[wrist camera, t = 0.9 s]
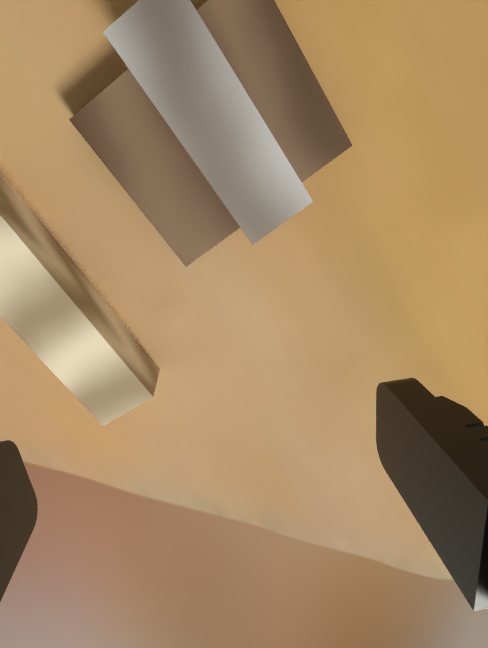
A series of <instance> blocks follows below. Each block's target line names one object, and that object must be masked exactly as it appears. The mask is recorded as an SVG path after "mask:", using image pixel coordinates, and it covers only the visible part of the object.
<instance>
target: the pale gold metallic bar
mask: <svg viewBox="0 0 488 648" xmlns="http://www.w3.org/2000/svg"><path fill="white" fill-rule="evenodd" d="M0 316H1V318H2V319H3V320H4V321H5V322H6V323H7V324H8V325H9V326H10V327H11V328H12V329H13V330H14V331H15V333H16V334H17V335H18V336H19V337H20V338H21V339H22V340H23V341H24V342H25V343H26V344H27V345H28V346H29V347H30V349H31V350H32V351H33V352H34V353H35V354H36V355H37V356H38V357H39V358H40V359H41V360H42V361H43V362H44V363H45V365H46V366H47V367H48V368H49V369H50V370H51V371H52V372H53V373H54V374H55V375H56V376H57V377H58V378H59V379H60V381H61V382H62V383H63V384H64V385H65V386H66V387H67V388H68V389H69V390H70V391H71V392H72V393H73V394H74V395H75V397H76V398H77V399H78V400H79V401H80V402H81V403H82V404H83V405H84V406H85V407H86V408H87V409H88V410H89V411H90V413H91V414H92V415H93V416H94V417H95V418H96V419H97V420H98V421H99V422H100V423H101V424H102V425H103V426H104V425H106V424H107V423H109V422H111V421H113V420H114V419H116V418H118V417H119V416H121V415H123V414H125V413H126V412H128V411H130V410H132V409H133V408H135V407H137V406H138V405H140V404H142V403H144V402H145V401H147V400H149V399H151V398H152V397H153V395H154V391H155V387H156V383H157V378H158V374H159V370H160V369H159V367H158V366H157V365H156V364H155V362H154V361H153V360H152V359H151V358H150V356H149V355H148V354H147V353H146V351H145V350H144V349H143V348H142V346H141V345H140V344H139V343H138V341H137V340H136V339H135V338H134V336H133V335H132V334H131V333H130V331H129V330H128V329H127V328H126V326H125V325H124V324H123V323H122V321H121V320H120V319H119V318H118V316H117V315H116V314H115V313H114V311H113V310H112V309H111V308H110V307H109V305H108V304H107V303H106V302H105V300H104V299H103V298H102V297H101V295H100V294H99V293H98V292H97V290H96V289H95V288H94V287H93V285H92V284H91V283H90V282H89V280H88V279H87V278H86V277H85V275H84V274H83V273H82V272H81V270H80V269H79V268H78V267H77V265H76V264H75V263H74V262H73V260H72V259H71V258H70V257H69V256H68V254H67V253H66V252H65V251H64V249H63V248H62V247H61V246H60V244H59V243H58V242H57V241H56V239H55V238H54V237H53V236H52V234H51V233H50V232H49V231H48V229H47V228H46V227H45V226H44V224H43V223H42V222H41V221H40V219H39V218H38V217H37V216H36V214H35V213H34V212H33V211H32V209H31V208H30V207H29V206H28V205H27V203H26V202H25V201H24V200H23V198H22V197H21V196H20V195H19V193H18V192H17V191H16V190H15V188H14V187H13V186H12V185H11V183H10V182H9V181H8V180H7V178H6V177H5V176H4V175H3V173H2V172H1V171H0Z"/></svg>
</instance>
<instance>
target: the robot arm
mask: <svg viewBox="0 0 488 648" xmlns="http://www.w3.org/2000/svg"><path fill="white" fill-rule="evenodd" d="M376 443H377V450H378V454H379V457H380V460H381V463H382V465H383V467H384V469H385V471H386V472H387V474H388V475H389V477H390V479H391V480H392V482H393V483H394V485H395V487H396V488H397V490H398V491H399V493H400V495H401V496H402V498H403V499H404V501H405V503H406V504H407V506H408V507H409V509H410V510H411V512H412V514H413V515H414V517H415V518H416V520H417V522H418V523H419V525H420V526H421V528H422V530H423V531H424V533H425V534H426V536H427V537H428V539H429V541H430V542H431V544H432V545H433V547H434V549H435V550H436V552H437V553H438V555H439V557H440V558H441V560H442V561H443V563H444V564H445V566H446V568H447V569H448V571H449V572H450V574H451V576H452V577H453V579H454V580H455V582H456V583H457V585H458V587H459V588H460V590H461V591H462V593H463V595H464V596H465V598H466V599H467V601H468V603H469V604H470V606H471V607H472V609H473V611H477V610H482V609H487V608H488V426H484V424H483V422H482V421H481V420H480V419H479V418H478V417H476V416H475V415H474V414H473V413H472V412H471V411H470V410H468V409H467V408H466V407H464V406H462V405H460V404H458V403H456V402H454V401H452V400H450V399H448V398H446V397H443V396H439V397H435V396H433V395H432V394H431V393H430V392H429V391H428V390H427V389H426V388H425V387H424V386H423V385H422V384H421V383H420V382H419V381H418V380H416V379H415V378H408V379H401V380H395V381H389V382H382V383H379V385H378V387H377V393H376ZM36 519H37V499H36V495H35V492H34V490H33V487H32V485H31V482H30V479H29V477H28V474H27V471H26V469H25V466H24V463H23V461H22V458H21V455H20V453H19V450H18V448H17V446H16V445H15V443H14V442H12V441H10V440H7V441H1V442H0V601H1V599H2V597H3V595H4V593H5V590H6V588H7V586H8V584H9V581H10V579H11V577H12V575H13V573H14V570H15V568H16V566H17V564H18V562H19V560H20V557H21V555H22V553H23V551H24V549H25V546H26V544H27V542H28V540H29V538H30V535H31V533H32V531H33V529H34V526H35V523H36Z"/></svg>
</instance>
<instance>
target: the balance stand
mask: <svg viewBox="0 0 488 648" xmlns="http://www.w3.org/2000/svg"><path fill="white" fill-rule="evenodd" d="M103 33H104V34H105V36H106V37H107V39H108V40H109V41H110V43H111V44H112V46H113V47H114V49H115V50H116V51H117V53H118V54H119V56H120V57H121V59H122V60H123V61H124V63H125V64H126V66H127V67H128V68H129V69H127V70H126V71H125V72H124V73H123V74H122V75H120V76H119V77H118V78H117V79H116V80H115V81H113V82H112V83H111V84H110V85H109V86H108V87H106V88H105V89H104V90H103V91H102V92H101V93H99V94H98V95H97V96H96V97H95V98H94V99H92V100H91V101H90V102H89V103H88V104H87V105H85V106H84V107H83V108H82V109H81V110H80V111H78V112H77V113H76V114H75V115H74V116H73V117H72V118H70V119H69V120H70V121H71V123H72V124H73V125H74V126H75V128H76V129H77V130H78V131H79V133H80V134H81V135H82V136H83V138H84V139H85V140H86V141H87V143H88V144H89V145H90V146H91V148H92V149H93V150H94V151H95V153H96V154H97V155H98V157H99V158H100V159H101V160H102V162H103V163H104V164H105V165H106V167H107V168H108V169H109V170H110V172H111V173H112V174H113V175H114V177H115V178H116V179H117V180H118V182H119V183H120V184H121V185H122V187H123V188H124V189H125V190H126V192H127V193H128V194H129V196H130V197H131V198H132V199H133V201H134V202H135V203H136V204H137V206H138V207H139V208H140V209H141V211H142V212H143V213H144V214H145V216H146V217H147V218H148V219H149V221H150V222H151V223H152V224H153V226H154V227H155V228H156V229H157V231H158V232H159V233H160V235H161V236H162V237H163V238H164V240H165V241H166V242H167V243H168V245H169V246H170V247H171V248H172V250H173V251H174V252H175V253H176V255H177V256H178V257H179V258H180V260H181V261H182V262H183V263H184V265H185V266H186V267H187V266H188V265H189V264H191V263H192V262H193V261H195V260H196V259H198V258H199V257H200V256H202V255H203V254H204V253H206V252H207V251H208V250H210V249H211V248H213V247H214V246H215V245H217V244H218V243H219V242H221V241H222V240H224V239H225V238H226V237H228V236H229V235H230V234H232V233H233V232H234V231H236V230H237V229H239V228H240V227H241V229H242V230H243V232H244V233H245V235H246V236H247V237H248V239H249V240H250V242H251V243H252V245H253V244H255V243H256V242H257V241H259V240H260V239H262V238H263V237H264V236H266V235H267V234H269V233H270V232H271V231H273V230H274V229H276V228H277V227H278V226H280V225H281V224H282V223H284V222H285V221H287V220H288V219H289V218H291V217H292V216H294V215H295V214H296V213H298V212H299V211H301V210H302V209H303V208H305V207H306V206H308V205H309V204H310V203H312V202H313V200H312V199H311V197H310V195H309V194H308V192H307V191H306V189H305V187H304V186H303V184H302V182H303V181H304V180H306V179H307V178H308V177H310V176H311V175H313V174H314V173H315V172H317V171H318V170H319V169H321V168H322V167H324V166H325V165H326V164H328V163H329V162H330V161H332V160H333V159H334V158H336V157H337V156H339V155H340V154H341V153H343V152H344V151H345V150H347V149H348V148H350V147H351V146H352V144H351V142H350V140H349V138H348V136H347V135H346V133H345V131H344V129H343V127H342V125H341V123H340V122H339V120H338V118H337V116H336V114H335V112H334V110H333V109H332V107H331V105H330V103H329V101H328V99H327V98H326V96H325V94H324V92H323V90H322V88H321V86H320V85H319V83H318V81H317V79H316V77H315V75H314V73H313V72H312V70H311V68H310V66H309V64H308V62H307V60H306V59H305V57H304V55H303V53H302V51H301V49H300V47H299V46H298V44H297V42H296V40H295V38H294V36H293V34H292V33H291V31H290V29H289V27H288V25H287V23H286V22H285V20H284V18H283V16H282V14H281V12H280V10H279V9H278V7H277V5H276V3H275V1H274V0H208V1H206V2H205V3H204V4H203V5H202V6H201V7H199V8H198V9H197V10H196V9H195V7H194V6H193V4H192V2H191V1H190V0H138V1H137V2H136V3H135V4H134V5H133V6H132V7H130V8H129V9H128V10H127V11H126V12H125V13H124V14H123V15H121V16H120V17H119V18H118V19H117V20H116V21H115V22H114V23H113V24H111V25H110V26H109V27H108V28H107V29H106V30H105V31H104V32H103Z"/></svg>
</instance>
